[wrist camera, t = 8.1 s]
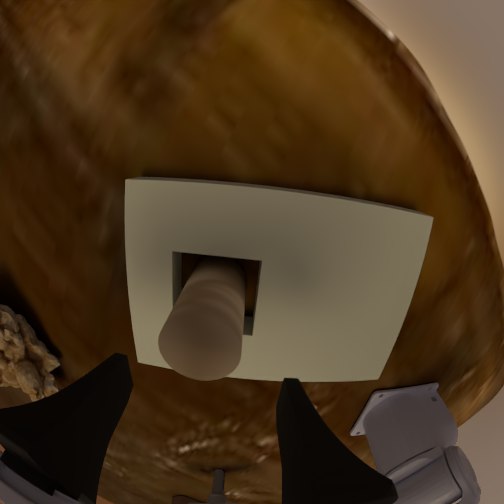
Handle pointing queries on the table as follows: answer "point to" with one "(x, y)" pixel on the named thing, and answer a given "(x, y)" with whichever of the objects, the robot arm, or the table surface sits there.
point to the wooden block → (183, 500)
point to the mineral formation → (24, 357)
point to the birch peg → (207, 321)
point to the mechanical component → (217, 489)
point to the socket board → (279, 271)
